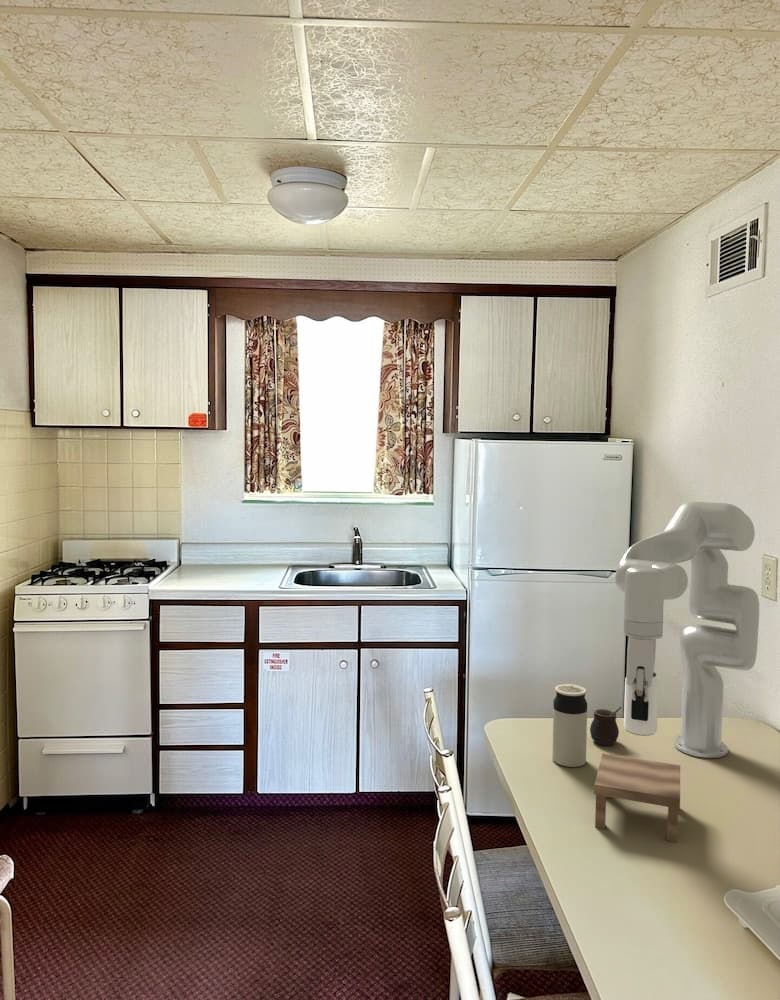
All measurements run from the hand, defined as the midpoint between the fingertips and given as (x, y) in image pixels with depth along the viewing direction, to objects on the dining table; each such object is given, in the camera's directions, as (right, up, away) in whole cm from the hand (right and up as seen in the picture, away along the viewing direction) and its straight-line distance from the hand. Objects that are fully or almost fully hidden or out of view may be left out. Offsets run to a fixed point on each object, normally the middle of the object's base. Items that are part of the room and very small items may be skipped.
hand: (640, 712), depth 151 cm
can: (0, -4, 0) cm, 4 cm away
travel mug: (-8, -20, +28) cm, 36 cm away
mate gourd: (+4, -19, +40) cm, 44 cm away
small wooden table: (0, -22, +2) cm, 22 cm away
